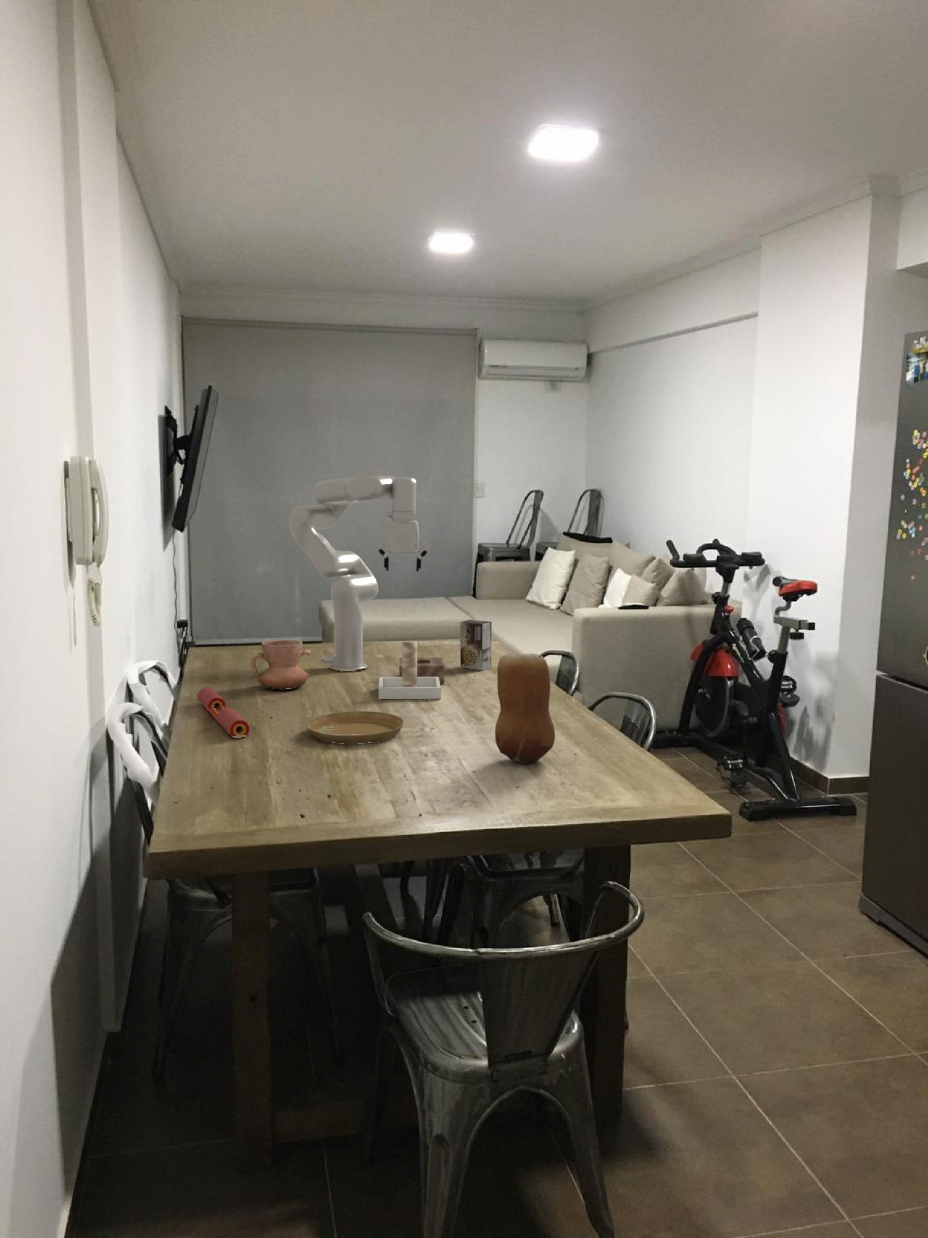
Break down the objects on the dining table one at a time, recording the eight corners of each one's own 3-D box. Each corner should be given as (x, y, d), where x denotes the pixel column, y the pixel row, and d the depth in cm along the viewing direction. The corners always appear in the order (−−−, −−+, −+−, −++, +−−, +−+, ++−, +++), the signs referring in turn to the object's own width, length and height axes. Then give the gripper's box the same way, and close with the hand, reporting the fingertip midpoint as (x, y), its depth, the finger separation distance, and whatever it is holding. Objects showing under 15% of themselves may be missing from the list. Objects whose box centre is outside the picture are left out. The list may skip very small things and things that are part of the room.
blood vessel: (250, 738, 238) (249, 719, 237) (229, 741, 236) (229, 721, 235) (215, 703, 275) (215, 686, 275) (197, 705, 273) (197, 687, 272)
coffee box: (492, 668, 330) (492, 621, 328) (482, 671, 324) (482, 623, 322) (469, 665, 335) (469, 619, 332) (459, 668, 329) (459, 621, 327)
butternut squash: (518, 750, 228) (519, 645, 225) (565, 760, 220) (568, 652, 217) (481, 762, 218) (482, 653, 214) (530, 774, 209) (532, 660, 206)
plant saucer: (312, 751, 227) (312, 737, 227) (301, 726, 250) (301, 713, 250) (413, 744, 234) (413, 731, 233) (393, 721, 257) (393, 708, 256)
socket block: (399, 684, 301) (399, 665, 300) (399, 676, 315) (399, 657, 314) (444, 684, 302) (444, 665, 301) (442, 675, 316) (442, 657, 315)
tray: (378, 700, 280) (378, 688, 279) (379, 688, 296) (379, 677, 295) (440, 699, 281) (440, 687, 281) (438, 688, 297) (438, 676, 296)
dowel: (402, 693, 286) (402, 643, 284) (401, 690, 290) (402, 640, 288) (416, 693, 286) (417, 643, 284) (416, 690, 291) (417, 640, 289)
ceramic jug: (310, 681, 305) (308, 637, 303) (313, 690, 291) (311, 644, 289) (251, 685, 301) (249, 640, 299) (252, 694, 287) (250, 647, 285)
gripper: (375, 516, 302) (374, 571, 304) (431, 518, 302) (429, 572, 305) (377, 515, 309) (376, 568, 312) (431, 516, 310) (429, 570, 312)
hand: (402, 570), depth 308 cm, fingers open, 9 cm apart
